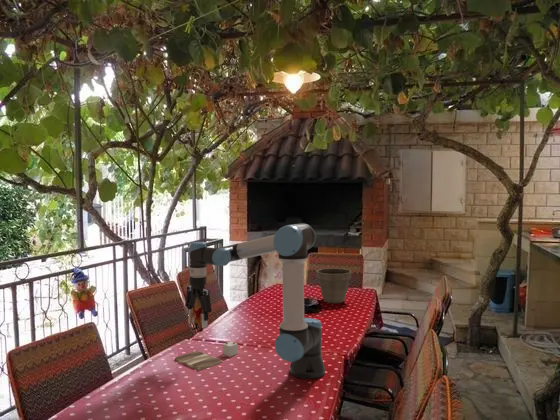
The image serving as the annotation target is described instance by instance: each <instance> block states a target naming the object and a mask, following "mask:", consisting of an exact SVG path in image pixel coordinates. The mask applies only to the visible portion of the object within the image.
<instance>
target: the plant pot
mask: <svg viewBox="0 0 560 420" xmlns="http://www.w3.org/2000/svg"><path fill="white" fill-rule="evenodd" d="M316 278H317V280H318V283H319V284H318V285H319V288H320V292H321V296H322V300H323V301H324V302H325V303H327V302H328V303H329V304H341V303H344V302H345V301H346V297H347V293H348V290H349V289H348V288H349V285H350V281H351V279H352V271H351V270H350V269H345V268H332V267H331V268H320V269H317V270H316Z"/></svg>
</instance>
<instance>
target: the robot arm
mask: <svg viewBox="0 0 560 420" xmlns="http://www.w3.org/2000/svg"><path fill="white" fill-rule="evenodd" d="M316 239H317V237H316V232H315V230H314V229H313V228H312V226H311V225H309V224H307V223H301V222H300V223H294V224H287V225H284V226H282V227H280V228H279V229H278V230H276V232H275V234H272V235H268V236H264V237H259V238H255V239H252V240H251V239H250V240H247V241H243V242H242V241H241V242H239V243H234V244H230V245H225V246H220V247H210V246H209V247H208V246H207V243H206V241H205V242H204V241H193V242H191V243H190V244H189V252H188V253H189V285H188V286H186V296H185V305H184V306H185V308H187V310H188V311H187V312H188V313H187V315H188V324H194V323H195V315H194V316H193V318H192V322H193V323H190V319H191V312H192V307H193V306H195V305H196V299H197V298H198V299H199V300H200V304H201V307H202V311H203V313H201V322H202V328H203V329H205V328H208V327H209V322H208V320H209V313H212V305H211V297H210V292H211V291H210V290H209V289H206V287H205V286H206V285H207V275H208V274H207V273H208V272H207V265H212V266H219V267H221V266H224V267H225V266H227V265H228V264H229V263H231V262H237V261H241V260H246V259H248V258H249V259H250V258H254V257H258V256H263V255H268V254H273V253H278V260H279V261H280V262H281V263H282V264H281V265H282V266H281V267H282V269H281V270H282V322H280V324H279V326H278V327H279V330H278V331H279V332H278V334H279V335H278V336H277V337H276V339H275V341H274V348H275V351H276V354H277V355H278V356H279V357H280V358H281V359H282V360H283V361H285V362H288V363H290V366H289V367H290V368H289V372H290V374H291V375H292V376H294V377H296V378H299V379H305V380H311V379H313V380H314V379H319V378H321V377H323V376H324V375H325V374H326V366H325V364H324V359H323V356H322V335H323V334H322V330H323V328H322V322H321V321H320V319H316V318H312V317H305V277H304V276H305V275H304V274H305V271H304V270H305V266H304V263H305V262H306V260H307V259H308V251H309V250H310V249H311V248H312V247H313V246H314V245H315V243H316Z"/></svg>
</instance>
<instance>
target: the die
mask: <svg viewBox="0 0 560 420" xmlns="http://www.w3.org/2000/svg"><path fill="white" fill-rule="evenodd" d="M238 345H239V343H236V342H234V341H228V342H227V341H226V342H225V343H223V344H222V355H224V356H225V357H226V356H227V357H229V358H231V357H234V356H236V355H238V354H239V352H238V351H239V346H238Z"/></svg>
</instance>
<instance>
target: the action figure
mask: <svg viewBox="0 0 560 420" xmlns="http://www.w3.org/2000/svg"><path fill="white" fill-rule="evenodd" d="M202 313H203V311H202V307H201V304H200V300H199V299H198V297H197V298H196V301H195V304H194V306H193V307H192V312H191V319H190V323H191V324H194V323H195V327H193V328H192V331H194V330H198V329H199V328H198V325H200V329H199V332H203V330H204V328H202ZM193 316H194V317H195V321H194V323H193V322H192V318H193Z"/></svg>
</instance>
